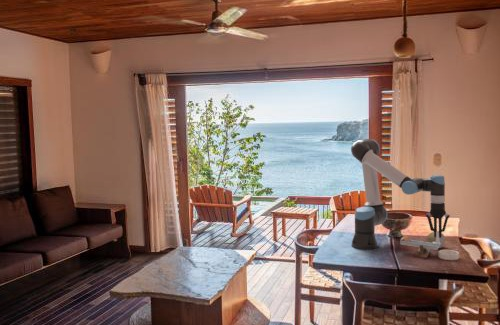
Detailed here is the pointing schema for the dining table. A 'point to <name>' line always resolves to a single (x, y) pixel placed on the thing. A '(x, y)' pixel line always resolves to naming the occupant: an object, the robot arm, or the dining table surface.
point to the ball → (406, 239)
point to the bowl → (448, 254)
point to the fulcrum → (422, 252)
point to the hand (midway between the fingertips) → (437, 243)
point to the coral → (432, 239)
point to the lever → (418, 243)
